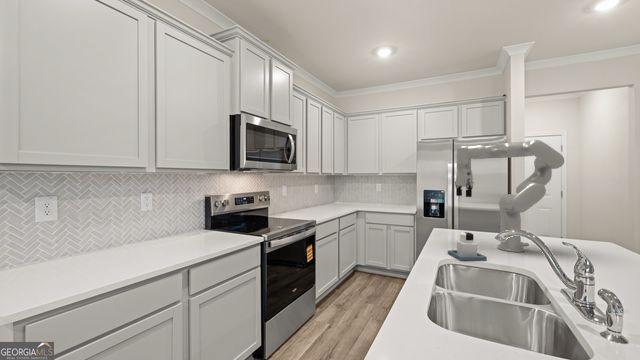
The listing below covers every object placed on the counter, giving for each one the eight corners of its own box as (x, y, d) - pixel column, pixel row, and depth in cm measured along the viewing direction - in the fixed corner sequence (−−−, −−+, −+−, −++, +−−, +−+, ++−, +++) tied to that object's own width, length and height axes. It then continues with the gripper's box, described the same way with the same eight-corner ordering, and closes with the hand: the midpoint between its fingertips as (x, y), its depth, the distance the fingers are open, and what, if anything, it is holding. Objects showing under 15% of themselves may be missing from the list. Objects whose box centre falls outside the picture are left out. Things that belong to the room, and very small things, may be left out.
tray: (470, 253, 148) (470, 249, 148) (486, 260, 135) (486, 256, 135) (447, 253, 148) (447, 250, 148) (461, 261, 135) (461, 257, 135)
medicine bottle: (470, 254, 145) (470, 231, 145) (477, 258, 138) (477, 234, 138) (456, 253, 145) (456, 231, 145) (462, 257, 138) (462, 234, 138)
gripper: (479, 166, 152) (479, 197, 152) (461, 167, 170) (461, 195, 170) (466, 166, 152) (466, 197, 152) (449, 167, 169) (449, 195, 169)
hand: (463, 196), depth 161 cm, fingers open, 9 cm apart
